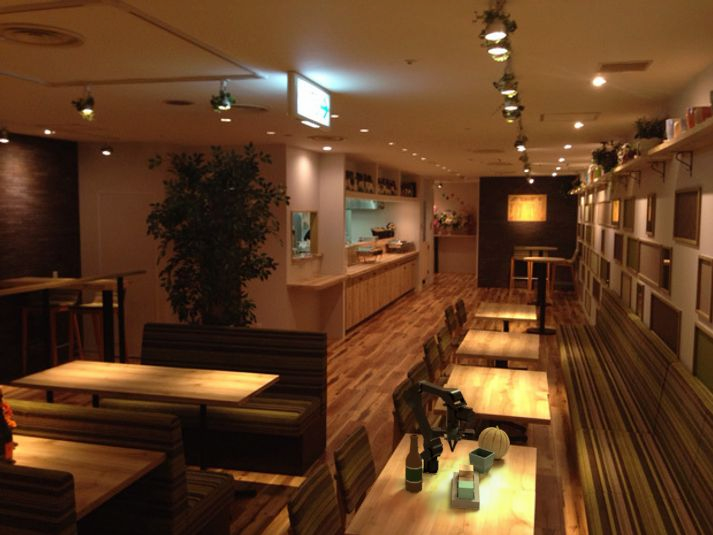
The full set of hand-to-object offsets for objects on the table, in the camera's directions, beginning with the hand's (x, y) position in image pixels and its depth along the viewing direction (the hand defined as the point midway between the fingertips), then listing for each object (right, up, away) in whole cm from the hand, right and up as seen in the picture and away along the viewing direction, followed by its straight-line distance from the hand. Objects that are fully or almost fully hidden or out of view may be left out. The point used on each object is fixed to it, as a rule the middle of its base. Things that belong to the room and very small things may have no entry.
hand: (452, 452), depth 277 cm
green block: (+3, -13, -18) cm, 22 cm away
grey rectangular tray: (+4, -14, -10) cm, 18 cm away
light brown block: (+5, -11, -3) cm, 12 cm away
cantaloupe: (+23, -10, +25) cm, 36 cm away
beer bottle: (-18, -14, -6) cm, 23 cm away
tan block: (+4, -14, -10) cm, 18 cm away
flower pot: (+15, -12, +10) cm, 22 cm away
